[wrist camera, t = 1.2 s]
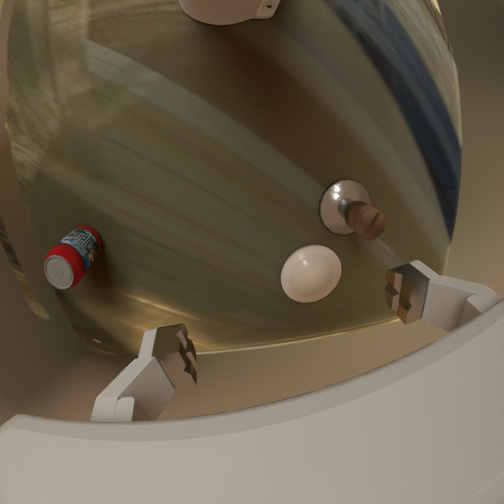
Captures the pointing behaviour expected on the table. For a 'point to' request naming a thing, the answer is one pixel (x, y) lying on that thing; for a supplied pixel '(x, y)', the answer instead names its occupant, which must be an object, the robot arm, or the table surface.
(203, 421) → the robot arm
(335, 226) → the pedestal
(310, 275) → the saucer
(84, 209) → the table surface
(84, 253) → the beverage can
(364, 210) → the cap
